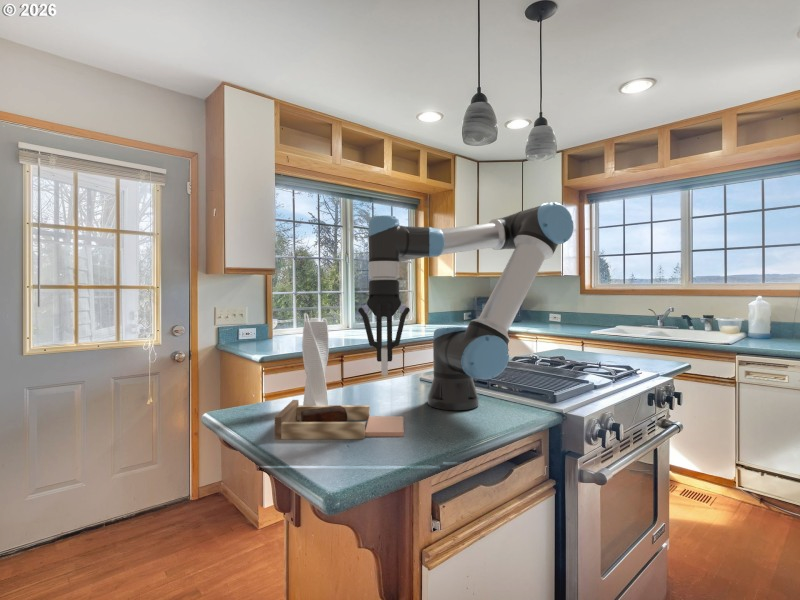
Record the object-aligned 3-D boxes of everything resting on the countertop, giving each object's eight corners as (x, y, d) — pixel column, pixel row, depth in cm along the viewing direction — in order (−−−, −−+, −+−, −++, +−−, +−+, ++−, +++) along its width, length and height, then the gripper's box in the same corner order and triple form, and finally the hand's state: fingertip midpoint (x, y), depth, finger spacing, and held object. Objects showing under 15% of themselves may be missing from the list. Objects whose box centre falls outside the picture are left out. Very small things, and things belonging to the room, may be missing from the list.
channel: (369, 418, 114) (369, 399, 114) (364, 438, 98) (364, 417, 98) (292, 418, 114) (292, 399, 114) (274, 439, 98) (274, 417, 98)
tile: (403, 420, 113) (403, 416, 113) (403, 436, 100) (403, 432, 100) (369, 420, 113) (369, 416, 113) (364, 436, 100) (364, 432, 100)
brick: (303, 434, 100) (302, 415, 100) (301, 428, 104) (300, 410, 104) (347, 427, 104) (347, 408, 104) (344, 421, 108) (343, 403, 107)
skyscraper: (296, 410, 122) (295, 312, 122) (310, 404, 129) (310, 312, 129) (319, 413, 119) (319, 313, 119) (333, 407, 126) (333, 312, 126)
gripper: (410, 279, 109) (410, 371, 110) (359, 280, 110) (360, 372, 110) (410, 278, 102) (411, 377, 102) (356, 279, 102) (356, 377, 102)
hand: (384, 374), depth 106 cm, fingers closed
